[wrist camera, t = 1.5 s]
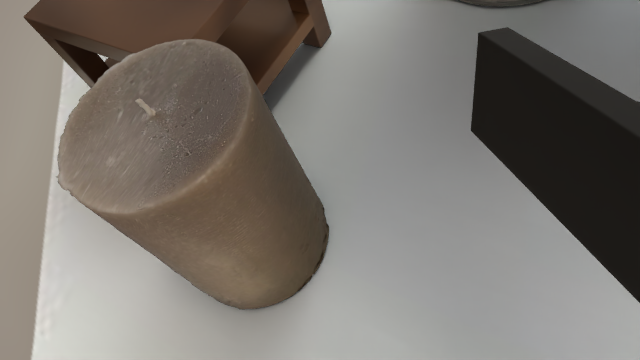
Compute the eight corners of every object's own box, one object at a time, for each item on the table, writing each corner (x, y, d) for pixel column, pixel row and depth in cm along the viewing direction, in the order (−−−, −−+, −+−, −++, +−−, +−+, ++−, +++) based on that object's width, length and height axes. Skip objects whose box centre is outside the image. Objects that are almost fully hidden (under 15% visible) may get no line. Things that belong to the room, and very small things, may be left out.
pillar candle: (359, 231, 32) (289, 71, 20) (247, 344, 30) (92, 246, 18) (267, 154, 37) (165, -12, 25) (166, 247, 35) (1, 117, 23)
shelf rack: (203, 2, 49) (145, -103, 40) (331, 33, 42) (295, -86, 33) (111, 109, 44) (22, 16, 35) (239, 163, 37) (168, 65, 29)
